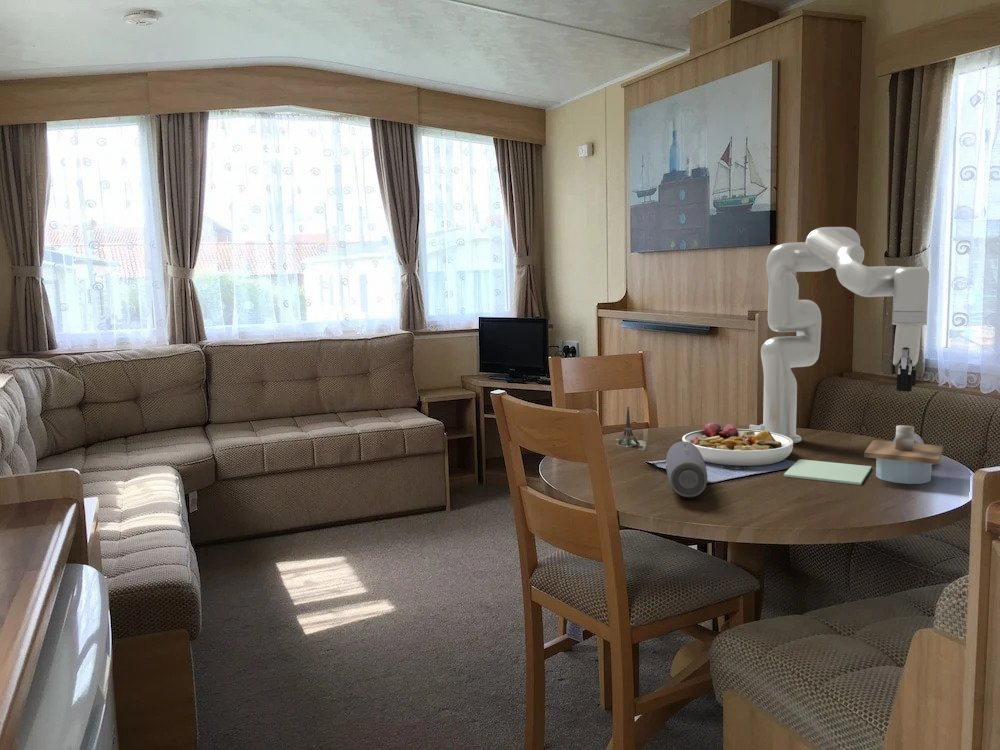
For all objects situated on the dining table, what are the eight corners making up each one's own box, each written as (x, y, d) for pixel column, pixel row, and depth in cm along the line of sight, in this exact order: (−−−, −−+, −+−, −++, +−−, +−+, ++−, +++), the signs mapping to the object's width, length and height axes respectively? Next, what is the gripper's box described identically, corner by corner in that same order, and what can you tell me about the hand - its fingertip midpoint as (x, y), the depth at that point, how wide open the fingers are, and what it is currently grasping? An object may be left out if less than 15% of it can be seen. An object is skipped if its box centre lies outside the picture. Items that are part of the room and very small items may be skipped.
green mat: (783, 476, 202) (783, 474, 202) (799, 461, 217) (799, 459, 217) (860, 485, 193) (860, 482, 193) (871, 468, 208) (871, 466, 208)
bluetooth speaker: (664, 476, 205) (664, 438, 204) (701, 477, 204) (702, 439, 202) (667, 502, 183) (667, 459, 182) (709, 503, 181) (709, 460, 180)
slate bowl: (873, 480, 197) (874, 456, 196) (879, 469, 207) (880, 446, 206) (928, 486, 190) (929, 461, 189) (932, 474, 200) (933, 451, 200)
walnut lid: (864, 457, 195) (865, 429, 194) (873, 444, 209) (874, 418, 208) (938, 464, 187) (939, 435, 186) (942, 450, 200) (944, 423, 199)
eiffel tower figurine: (645, 452, 235) (645, 407, 233) (611, 451, 237) (610, 407, 235) (647, 441, 250) (647, 399, 248) (614, 440, 252) (614, 398, 250)
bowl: (816, 461, 218) (817, 433, 217) (725, 474, 207) (726, 444, 206) (745, 441, 246) (745, 415, 245) (661, 451, 235) (661, 424, 234)
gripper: (896, 315, 203) (893, 382, 205) (887, 320, 188) (884, 392, 191) (929, 316, 199) (926, 384, 201) (923, 321, 184) (920, 394, 187)
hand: (906, 388), depth 196 cm, fingers open, 9 cm apart
